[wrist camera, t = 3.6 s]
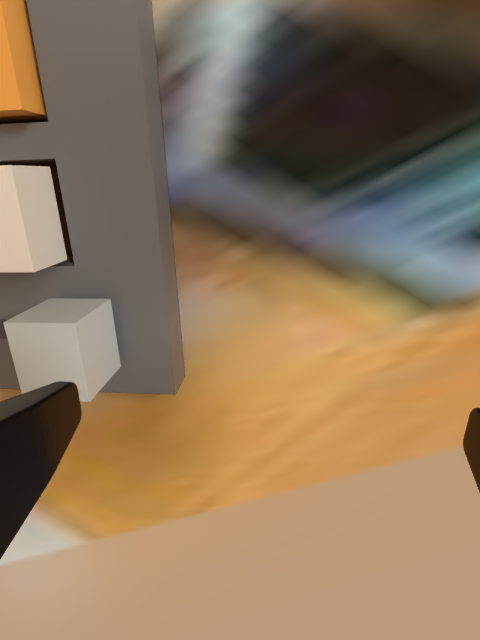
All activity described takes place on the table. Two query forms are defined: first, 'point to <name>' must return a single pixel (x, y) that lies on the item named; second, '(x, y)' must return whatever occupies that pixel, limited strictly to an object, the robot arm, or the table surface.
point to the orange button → (18, 66)
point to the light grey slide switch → (65, 344)
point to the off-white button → (29, 220)
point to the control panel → (103, 185)
